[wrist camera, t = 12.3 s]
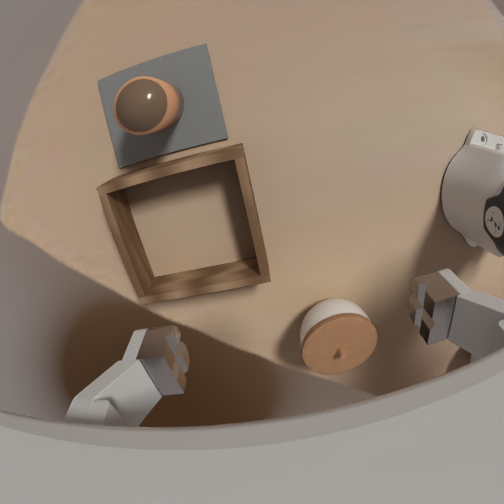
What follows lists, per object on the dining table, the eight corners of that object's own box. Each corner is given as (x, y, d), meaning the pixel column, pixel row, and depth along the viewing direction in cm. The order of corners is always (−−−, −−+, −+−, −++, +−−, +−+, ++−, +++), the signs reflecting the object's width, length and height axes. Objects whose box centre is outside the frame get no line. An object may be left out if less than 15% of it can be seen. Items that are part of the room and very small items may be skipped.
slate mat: (206, 44, 30) (206, 43, 29) (227, 137, 35) (227, 138, 34) (98, 80, 30) (97, 80, 30) (120, 167, 36) (119, 168, 35)
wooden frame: (242, 143, 35) (241, 148, 30) (267, 262, 42) (270, 281, 37) (112, 178, 36) (96, 188, 32) (150, 284, 43) (141, 304, 39)
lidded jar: (372, 316, 47) (392, 356, 38) (317, 350, 49) (328, 393, 41) (341, 271, 43) (362, 310, 34) (280, 311, 46) (287, 356, 37)
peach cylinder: (178, 75, 31) (163, 67, 24) (189, 122, 33) (176, 125, 27) (131, 90, 31) (107, 88, 25) (142, 136, 34) (120, 142, 27)
